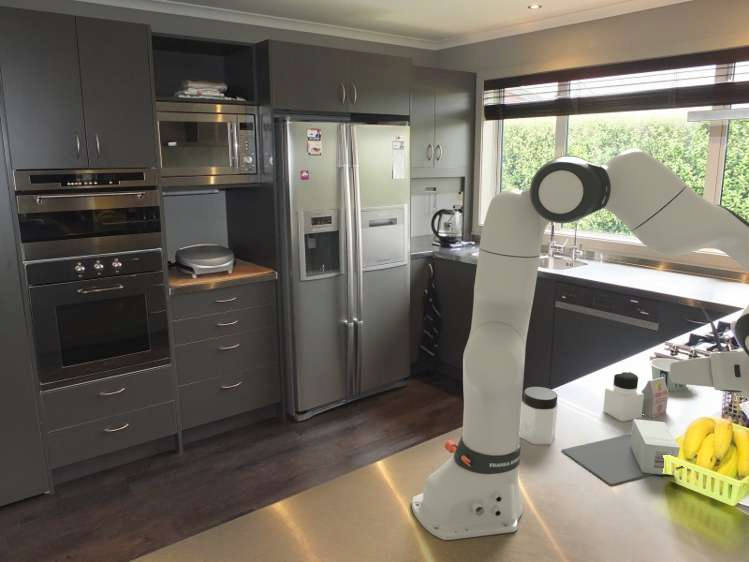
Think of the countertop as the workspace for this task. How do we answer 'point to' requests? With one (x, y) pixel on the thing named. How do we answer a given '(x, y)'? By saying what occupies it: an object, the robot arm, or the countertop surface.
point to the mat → (608, 459)
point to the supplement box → (652, 445)
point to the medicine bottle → (624, 397)
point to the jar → (538, 415)
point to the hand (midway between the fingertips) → (684, 375)
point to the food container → (664, 372)
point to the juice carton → (655, 397)
